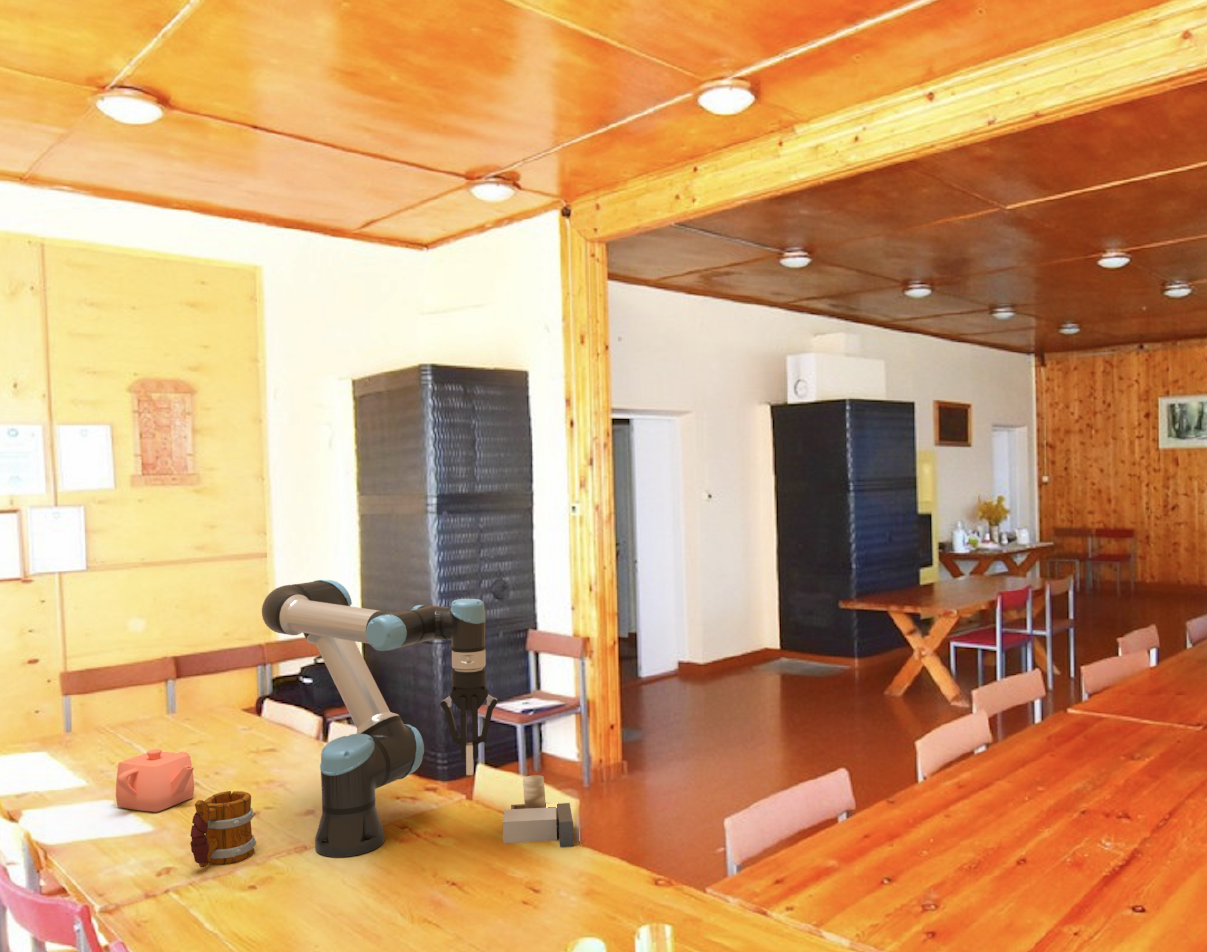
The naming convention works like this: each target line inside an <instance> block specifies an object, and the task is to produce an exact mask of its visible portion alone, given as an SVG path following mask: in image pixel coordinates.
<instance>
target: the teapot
mask: <svg viewBox="0 0 1207 952" xmlns="http://www.w3.org/2000/svg"><path fill="white" fill-rule="evenodd" d="M193 771H194V767H193V764H192V759H191V755H190V754H189V753H188V752H187V751H186V752H184V751H182V752H171V751H163V750H162V749H160V748H156V749H150V750H148V751H147V752H146V753H143V754H139V755H137V756H134V757H131V758H128V759H125V760H123V761H120V762H118V766H117V773H116V783H115V798H116V799H115V800H116V805H117V807H119V808H123V809H130V810H136V811H143V812H155V813H157V812H161V811H163V810H165V809H168V808H171V807H173V806H176V805H178V804H181V803H182V802H183V803H184V802H185V801H187V800H190V799H192V798H193V797H194V791H195V780H194V772H193Z"/></svg>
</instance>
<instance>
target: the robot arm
mask: <svg viewBox="0 0 1207 952" xmlns="http://www.w3.org/2000/svg"><path fill="white" fill-rule="evenodd" d="M352 605H353V602H352V599H351V595H350V594H349V591H348V589H347V588H346V587H345V586H344V585H343V584H341V583H339V582H338V581H336V580H333V579H332V580H331V579H328V580H327V579H326V580H325V579H316V580H313V581H308V582H301V583H294V584H287V585H282V586H278V587H277V588H275V589H274V590H272V591H271V592H270V593H268V595H266V597H265V599H264V601H263V603H262V607H261V617H262V620H263V623H264V624H265V625H266V626H267V627H268V629H270V630H271V631H273V632H274V633H278V634H282V635H283V634H284V635H289V636H298V635H301V634H303V636H304V638H305V639H306V642H307V643H309V644H312V645H315V646H316V647H317V650H318V652H319V653H320V657H321V658H322V660H323V663H324V664H325V666H326V669H327V670H328V673H329V674H330V676H331V678H332V680H333V683H334V685H335V686H336V688H337V689H336V690H337V691H338V693H339V694H340V697H341V698H342V701H343V704H344V705H345V708H346V709H347V711H348V714H349V715H350V718H351V719H352V722H353V724H354V726H355V728H356V733H352V734H349V735H343V736H340V737H337V738H334V739H333V740H330V741H329V742H328V743H326V744H325V745H324V746H323V748H322V749H321V752H320V754H321V755H320V764H319V769H320V779H321V780H320V781H321V782H320V784H321V806H322V807H321V809H322V810H321V812H322V813H321V816H320V820H319V822H318V823H319V824H318V827H317V831H316V834H315V837H314V846H315V847H314V850H315V852H316V853H317V854H318V855H322V856H324V857H332V858H333V857H334V858H346V857H347V858H348V857H352V856H359V855H363V854H366V853H369V852H373V851H374V850H376V849H379V847H381V846H382V845H383V844H384V842H385V828H384V826H383V823H382V821H381V818H380V816H379V812H378V810H377V807H376V789H379V788H381V787H383V786H386V785H388V784H390V783H393V782H397V781H398V780H403V779H405V778H406V777H407V776H409V775H411V774H413V773H414V772H416V771H417V770H418V768H419V767H420V766H421V764H422V761H423V756H424V755H425V754H424V753H425V744H424V740H423V737H422V735H421V733H420V731H419V730H418V728H416V727H415V726H412V725H411V724H404V722H403V720H402V718H401V716H400V714H398V713H394V712H391V711H390V708H389V707H388V705H387V702H386V700H385V699H384V696H383V694H382V693H381V691H380V689H379V686H378V685H377V682H376V680H375V679H374V677H373V675H372V673H371V670H370V669H369V666H368V665H367V662H366V661H365V659H364V657H363V655H362V653H361V651H360V649H359V647H358V645H357V643H362V644H368V645H370V647H372V648H373V649H374V650H375V651H378V652H379V651H380V652H384V651H393V650H396V649H399V648H404V647H407V646H411V645H415V644H419V643H420V644H421V643H423V642H429V641H433V640H439V641H442V640H443V641H450V642H451V668H452V669H453V670H452V671H451V683H452V684H451V690H450V693H449V695H448V696H447V697H446V698H442V699H441V701H440V706H441V707H442V709H443V711H444V712H445V717H446V720H447V721H446V722H447V725H448V727H449V732H450V735H451V740H452V742H453V743H454V744H458V745H460V758H461V760H465V762H466V763H465V766H466V768H465V770H466V771H465V772H466V773H465V774H466V775H465V776H474V769H475V768H474V760H477V759H478V758H479V745H480V744H481V743H485V742H486V740H487V736H488V732H489V727H490V723H491V719H492V715H493V711H494V709H495V708H496V706H497V704H498V698H497V697H496V696H494V697H493V696H492V695H490V694H489V691H488V689H487V675H486V669H485V667H486V660H487V659H486V654H487V653H486V643H485V641H486V638H485V637H486V622H487V620H486V619H487V618H486V612H485V603H484V601H483V600H481V599H477V598H459V599H455V600H453V601H452V602H451V604H450V606H439V605H432V604H418V605H414V606H413V608H411V609H410V610H405V611H400V612H392V611H382V610H378V609H370V608H365V607H357V606H352ZM356 642H357V643H356ZM485 701H486V705H487V709H486V712H485V716H484V720H483V725H482V731H481V734H480V735H479V709H480V708H481V707H482V706H483V704H484V702H485ZM452 702H453V703H452ZM453 704H455V706H456V708H458V709H459V710H460V713H459V714H460V736H459V733H458V729H457V725H456V722H455V717H454V714H453V709H452V705H453ZM467 711H471V727H472V729H471V732H472V733H471V734H472V737H471V738H472V742H468V741H467V739H468V736H467V735H468V734H467V733H468V730H467V729H468V728H467V723H468V722H467V721H468V720H467V718H468V717H467V713H468V712H467Z"/></svg>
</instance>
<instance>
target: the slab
mask: <svg viewBox="0 0 1207 952" xmlns="http://www.w3.org/2000/svg"><path fill="white" fill-rule="evenodd" d="M503 811H504V812H503V817H502V839H503V840H502V841H503V842H502V844H512V843H513V844H514V843H515V844H516V843H533V842H534V843H535V842H551V841H558V827H557V822H556V807H548V808H528V809H511V808H510V809H509V808H508V809H504V810H503Z"/></svg>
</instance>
